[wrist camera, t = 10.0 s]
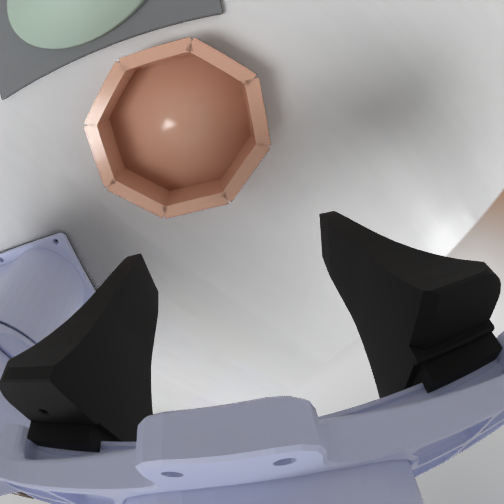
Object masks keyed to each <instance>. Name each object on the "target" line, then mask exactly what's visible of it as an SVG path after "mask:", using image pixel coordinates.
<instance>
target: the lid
mask: <svg viewBox="0 0 504 504" xmlns="http://www.w3.org/2000/svg"><path fill="white" fill-rule="evenodd" d="M144 2H145V0H7V13H8V17H9V21H10V23H11V26H12V28H13V29H14V31H15V33H16V34H17V35H18V36H19V37H20V38H21V39H23V40H24V41H25V42H27V43H29V44H31V45H33V46H37V47H40V48H48V49H65V48H72V47H76V46H80V45H84V44H86V43H89V42H92V41H94V40H96V39H98V38H100V37H102V36H104V35H106V34H108V33H109V32H111V31H112V30H114V29H116V28H117V27H118V26H120V25H121V24H122V23H124V22H125V21H126V20H127V19H128V18H129V17H131V16H132V15H133V14H134V13H135V12H136V11H137V10H138V9H139V8H140V7H141V6H142V4H143V3H144Z"/></svg>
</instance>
